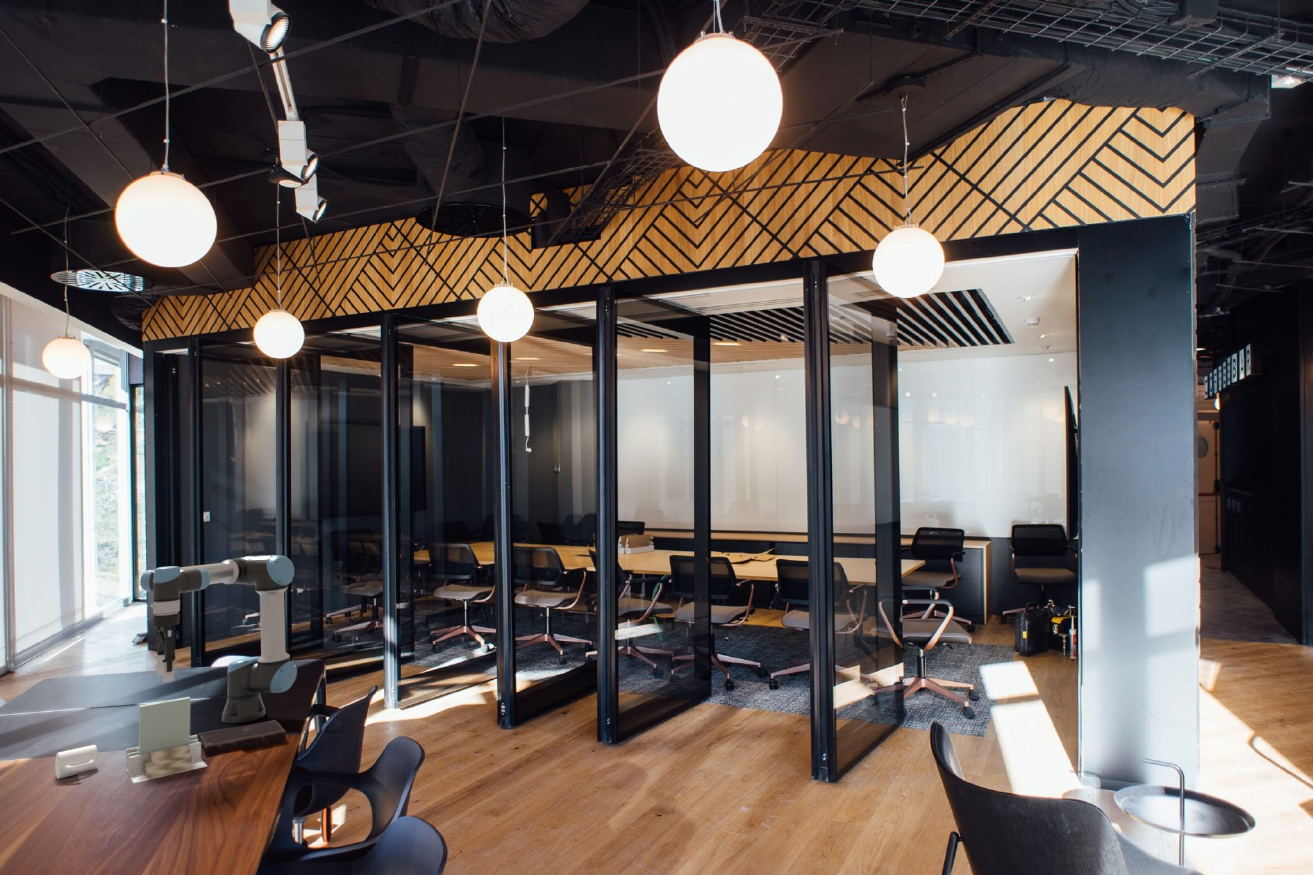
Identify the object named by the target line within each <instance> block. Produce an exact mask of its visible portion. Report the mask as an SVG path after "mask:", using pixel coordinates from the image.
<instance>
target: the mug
mask: <svg viewBox="0 0 1313 875" xmlns="http://www.w3.org/2000/svg"><path fill="white" fill-rule="evenodd" d="M98 752H99V751H98V748H97V745H96V744H92V745H87V746H83V747H77V748H73V749H68V750H64V751H59V752H56V755H55V761H54V763H55V766H54V767H55V768H54V769H55V770H54V771H55V776H56V779H58V780H59V779H63V778H67V777H72V776H76V775H79V773H83V772H88V771H91V770H95V769H98V765H99V764H98V763H99V753H98Z"/></svg>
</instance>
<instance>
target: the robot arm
mask: <svg viewBox="0 0 1313 875" xmlns="http://www.w3.org/2000/svg"><path fill="white" fill-rule="evenodd" d="M294 576H295V566H294V564H293V562H292V560H291V559H290V558H288V557H287V556H285V555H278V554H270V555H269V554H268V555H266V554H265V555H264V554H263V555H261V554H260V555H257V554H256V555H246V556H241V557H235V558H230V559H225V560H222V562H219V563H210V564H201V565H191V566H183V567H180V566H160V567H157V568H155V569H149V570H147V571H144V572H143V574H141V577H140V579H139V580H140V581H139V582H140V584H139V585H140V587H141V588H142V590H144V591H146V592H152V593H153V596H152V597H153V600H152V601H153V604H151V605H150V608H152V614H154V615H153V616H152V626H153V627H154V628H157V629H158V630H157V631H158V632H157V640H156V641H157V643H156V650H155V651H156V652H155V653H156V655H157V657H156V658H157V660H156V676H163V683H170V682H174V681H175V679H174V678H175V660H176V647H175V630H174V629H172V627H173V626H177V625H179V624H180V613H179V612H180V610H181V594H183V593H184V594H185V593H189V592H198V591H200V590H201V591H202V590H204V589H206V588H208V586H210V585H214V584H221V583H222V584H225V585H233V584H234V585H235V584H237V585H248V586H250V585H251V586H255V589H254V590H255V592H256V593H257V594H258V595H259V609H260V610H259V613H260V651H261V653H260V654H261V655H259V656H251V657H244V658H241V659H236V660H234V661H233V660H232V661H231V662H230V663H229V664H227V665H228V666H227V673H226V676H227V677H226V679H227V682H226V683H227V686H226V687H227V694H226V695H227V699H226V703H225V706H224V709H223V712H222V713H221V721H222V722H223V723H225V724H238V723H239V724H240V723H247V722H250V721H251V722H252V721H255V720H259V719H262V718H263V717H264V716H265V715H266V708H265V705H264V703H263V699H262V696H261V693H273V694H277V693H284V692H287V691H288V690H289V689H290V688H291V687H292V686H293V685H294V682H295V681H296V679H297V676H298V675H297V674H298V667H297V665H296V664H295V663H294V662H292V661H291V656H290V654H289V653H287V651H286V624H285V623H286V622H285V621H286V620H285V616H286V615H285V592H286V590H288V588H289V584H291V583H292V582H293V578H294Z"/></svg>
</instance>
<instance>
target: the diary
mask: <svg viewBox="0 0 1313 875" xmlns="http://www.w3.org/2000/svg"><path fill="white" fill-rule="evenodd" d="M286 733H287V731H286V730H285V728H283V727H282V725H281V723H280V722H278V721H277V720H276V719H275V720H269V721H264V722H262V721H261V722H258V723H253V724H248V725H242V726H235V727H228V728H219V729H214V730H210V731H204V732H199V733H198V735H199V737H200V739H201V745H202V747H203V748H204V750H205V751H204V752H205V757H209V756H215V755H221V754H223V753H229V752H234V751H238V750H241V751H242V752H246V751H250V750H251V749H252V750H256V749H259V748H258V747H261V748H265V747H269V746H268V745H270V746H274V744H275V745H280V744H286V740H287V738H286V737H287V734H286Z"/></svg>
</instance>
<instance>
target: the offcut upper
mask: <svg viewBox="0 0 1313 875" xmlns="http://www.w3.org/2000/svg"><path fill="white" fill-rule="evenodd" d="M189 758H190V748H189V746H188V745H185V746H180V747H175V748H171V749H166V750H161V751H157V752H152V753H151V763H152V765H153V766H157V765H161V764H166V763H170V762H175V761H179V760H184V759H189Z"/></svg>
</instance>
